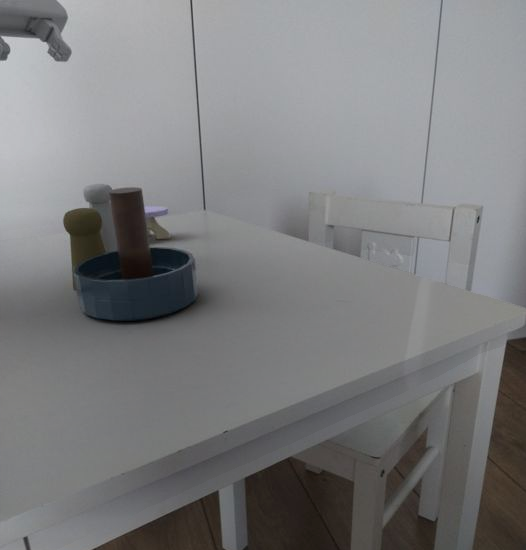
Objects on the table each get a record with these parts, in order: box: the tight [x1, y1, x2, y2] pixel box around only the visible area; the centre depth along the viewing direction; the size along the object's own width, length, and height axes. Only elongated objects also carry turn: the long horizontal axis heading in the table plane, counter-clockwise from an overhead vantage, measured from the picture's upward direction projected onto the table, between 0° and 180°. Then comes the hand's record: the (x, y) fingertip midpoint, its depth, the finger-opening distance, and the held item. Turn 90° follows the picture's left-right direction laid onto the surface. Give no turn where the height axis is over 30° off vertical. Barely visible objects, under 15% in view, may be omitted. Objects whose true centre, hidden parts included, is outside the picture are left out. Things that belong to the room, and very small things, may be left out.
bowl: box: [73, 246, 199, 322], centre depth 75 cm, size 15×15×6 cm
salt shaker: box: [82, 183, 118, 252], centre depth 88 cm, size 6×6×13 cm
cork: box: [62, 207, 106, 291], centre depth 81 cm, size 6×6×11 cm
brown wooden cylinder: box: [109, 186, 154, 280], centre depth 73 cm, size 4×4×14 cm
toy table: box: [144, 205, 171, 240], centre depth 106 cm, size 10×9×6 cm
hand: (36, 56), depth 61 cm, fingers open, 8 cm apart
